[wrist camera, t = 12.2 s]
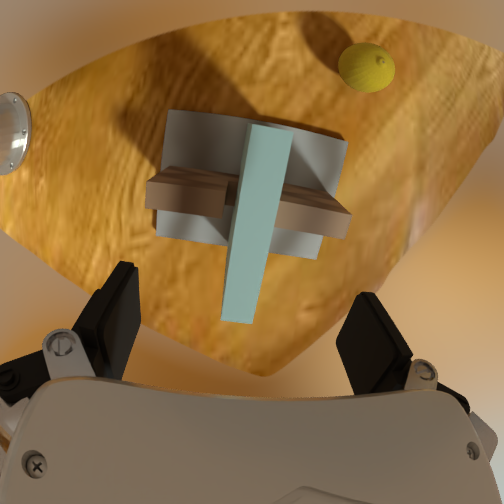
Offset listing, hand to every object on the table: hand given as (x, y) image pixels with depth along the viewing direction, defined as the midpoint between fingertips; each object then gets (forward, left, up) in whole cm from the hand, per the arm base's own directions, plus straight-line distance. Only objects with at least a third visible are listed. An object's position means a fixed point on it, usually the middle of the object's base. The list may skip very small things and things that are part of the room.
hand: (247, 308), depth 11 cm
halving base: (0, 0, -22) cm, 22 cm away
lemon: (+10, +16, -22) cm, 29 cm away
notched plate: (0, 0, -21) cm, 21 cm away
